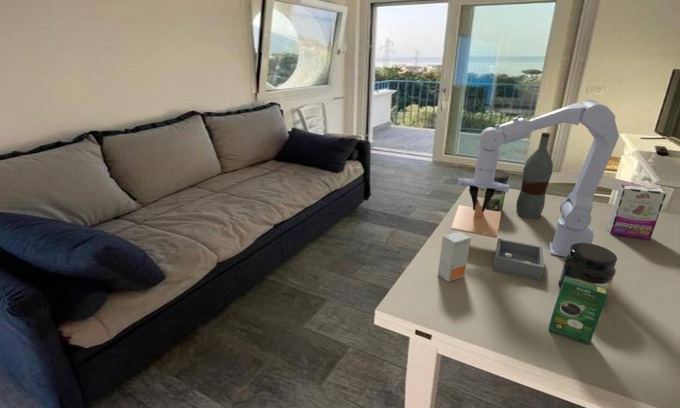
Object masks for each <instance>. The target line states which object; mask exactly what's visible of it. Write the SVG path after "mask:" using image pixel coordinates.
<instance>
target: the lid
mask: <svg viewBox="0 0 680 408" xmlns="http://www.w3.org/2000/svg"><path fill="white" fill-rule="evenodd" d="M483 204H484V198H481V197H478V198H477V202H476V206H475V210H473V206H466V205H461V204H460V205H459V204H458V207H457V210H456V212H455V215H454V218H453V221H452V225H451V227H450V228H451V229H450V230H452V231H453V230H454V231H456V232H462V233H467V234H468V233H469V234H472V235H473V234H474V235H478V236H484V237H488V238H494V239H495V238H496V239H498V233H499V226H500V222H501V215H502V211H501V212H498V211H492V210H486V209H485V211H484V212H482V208H483Z"/></svg>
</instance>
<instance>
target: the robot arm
mask: <svg viewBox="0 0 680 408" xmlns="http://www.w3.org/2000/svg"><path fill="white" fill-rule="evenodd" d="M562 123H565V124H566V123H567V124H570V125H576V126H579V125H580V124H581V125H583V127H585V128H586V129H587V130H588V132H589V133H590V134H591V136H592V138H593V140H592V143H591V145H590V148H589V149H588V150H589V151H588V152H587V155H586V158H585V160H584V163H583V166H582V168H581V170H580V173H579V175H578V177H577V181H576V182H575V185H574V188H573V190H572V191H571V192H570V193H569V194H568V195H567V197H566V199H565V200H564V201H562V203H561V204H560V206H559V212H560V214H561V216H560V218H559V219H558V221H557V224H556V225H557V226H556V229H555V232H554V237H553V239H552V240H553V241H549V244H548V245H549V249H550V251H549V253H550V255H554V256H560V257H563V258H565V257H566V256H567V255H569V251H570V248H571V246H572V245H573V244H576V243H589V244H593V241H594V236H595V235H594V234H595V231H594V228H592V227H590V225H591V223H592V215H591V214H592V210H593V200H594V196H595V194H596V191H597V189H598V187H599V184H600V182H601V180H602V177H603V176H604V173H605V171H606V168H607V167H608V166H607V165H608V164H609V161H610V160H611V157H612V154H613V153H614V149H615V148H616V145H617V143H618V141H619V139H620V138H619V137H620V136H619V134H620V133H619V130H618V126H617V123H616V115H615V113H613V111H612V110H611V109H610V108H609V107H608V106H607V105H605V104H603V103H602V104H601V103H599V102H598V101H596V100H594V99H588V100H585V101H582V102H577V103H576V102H575V103H572V104H570V105H566V106H564V107H561V108H558V109H556V110H552V111H550V112H547V113H545V114H542V115H539V116H537V117H533V118H531V119H526V118H524V117H520V118H519V117H518V116H516V117H513V118H512V120H511V121H508V122H504V123H502V124H499V123H496V124H495V125H494V127H493V126H489V127H486V128H484V129H483V130H482V131H481V133H480V135H479V142H480V144H479V147H478V152H477V156H476V161H475V162H476V164H475V169H474V170H475V171H474V177H473V178H464V177H463V178H462V177H459V178H458V181H457V186H458V187H459V186H460V187H462V186H464V187H469V189H468V192H469V195H470V197H471V201H472V207H473V210H475V206H476V202H477V195H478V190H479V188H483V189H486V193H485V199H484V204H483V208H482V212H484V211H485V208H486V205H487V203H488V202H489V200H490V199H491V198H492V196H493V195H494V193H495V190H498V191H504V192H505V194H506V193H509V187H510V184H508V183H507V184H502V183H498V182H494V177H495V171H496V170H497V165H498V159H499V149H500V147H501V146H502V145H507V144H509V143H514V142H516V141H517V142H518V141H520V140H524V139H526V138H529V136H530V135H531V133H533V132H534V131H537V130H542V129H546V128H549V127H552V126H556V125H559V124H562Z"/></svg>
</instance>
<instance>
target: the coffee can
mask: <svg viewBox="0 0 680 408" xmlns="http://www.w3.org/2000/svg"><path fill="white" fill-rule="evenodd" d="M509 176H510V174H509V173H508V172H506V171H503V170H499V169H496V171H495V177H494V182H498V183H502V184H508V182H509ZM485 193H486V189H483V188H479V190H478V195H477V198H478V197H481V198H484V199H485ZM505 197H506V192H504V191H498V190H495V193H494V195H493V196H492V198H491V199H490V200H489V202H488V203H487V205H486V208H485V209H486V210H492V211H498V212H501V213H502V212H503V207H504V204H505V203H504V202H505Z"/></svg>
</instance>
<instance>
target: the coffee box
mask: <svg viewBox="0 0 680 408" xmlns="http://www.w3.org/2000/svg"><path fill="white" fill-rule="evenodd" d="M608 298H609V291H608V288H605V287H601V286H598V285H594V284H591V283H588V282H584V281H581V280H577V279H574V278H571V277H567V276H565V277H564V280H563V283H562V286H561V289H559V292H558V295H557V298H556V301H555V304H554V308H553V311H552V313H551V317H550V321H549V324H548V331H549V332H553V333H554V334H557V335H561V336H564V337H567V338H570V339H572V340H576V341H577V342H580V343H584V344H587V345H590V344H591V341H592V340H593V337H594V334H595V331H596V328H597V325H598V324H599V321H600V319H601V316H602V314H603V311H604V308H605V306H606V303H607V301H608Z"/></svg>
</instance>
